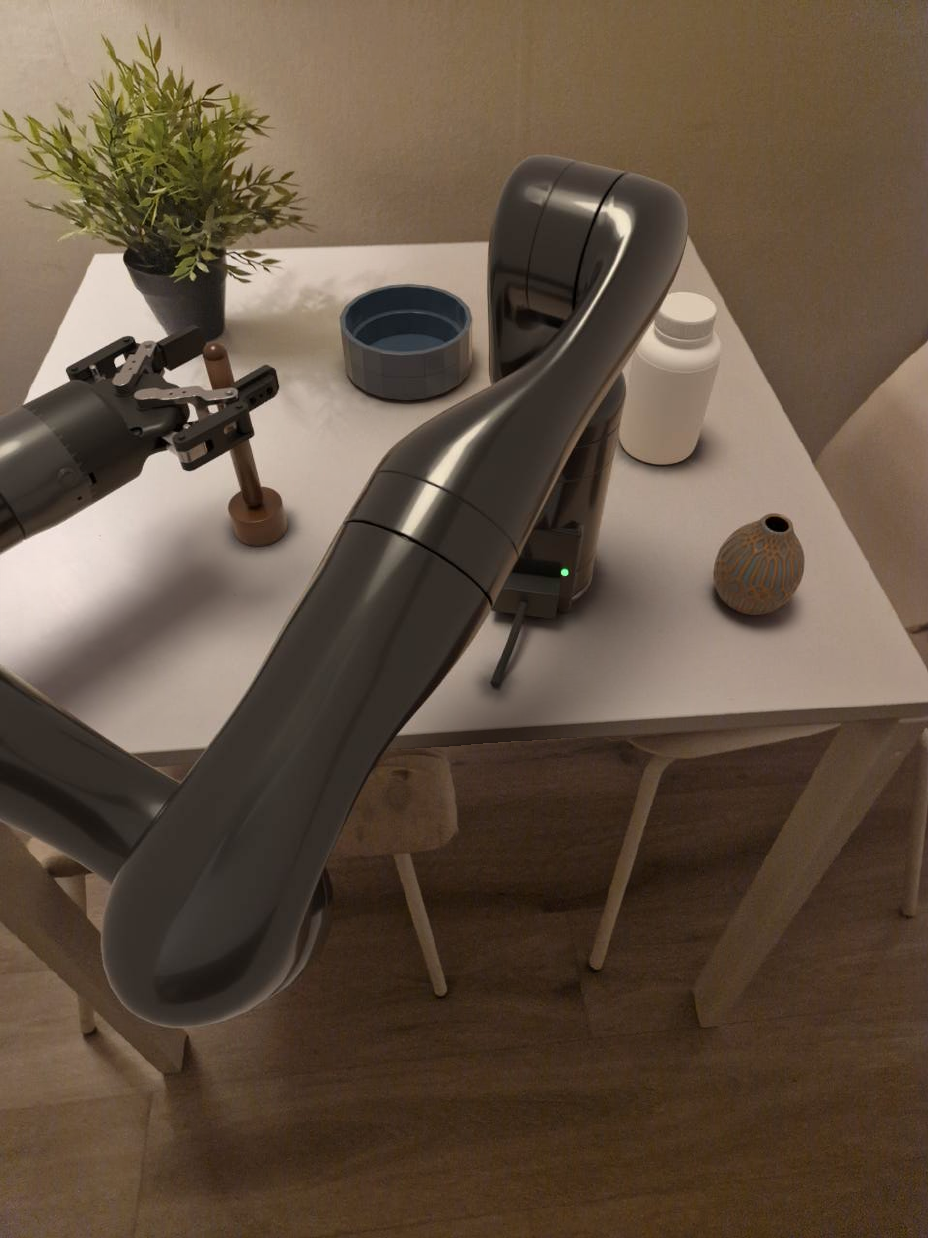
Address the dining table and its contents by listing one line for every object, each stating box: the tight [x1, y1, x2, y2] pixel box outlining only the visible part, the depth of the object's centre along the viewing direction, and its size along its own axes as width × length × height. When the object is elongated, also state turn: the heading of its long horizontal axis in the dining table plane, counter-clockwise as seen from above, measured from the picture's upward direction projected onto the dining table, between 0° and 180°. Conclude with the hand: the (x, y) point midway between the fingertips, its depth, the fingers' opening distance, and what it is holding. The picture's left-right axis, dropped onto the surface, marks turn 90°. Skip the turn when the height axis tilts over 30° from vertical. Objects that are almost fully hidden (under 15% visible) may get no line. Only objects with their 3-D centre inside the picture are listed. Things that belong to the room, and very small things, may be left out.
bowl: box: [339, 283, 473, 401], centre depth 88 cm, size 14×14×6 cm
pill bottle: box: [618, 291, 723, 466], centre depth 76 cm, size 8×8×15 cm
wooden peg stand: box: [202, 341, 288, 547], centre depth 66 cm, size 5×5×19 cm
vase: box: [713, 512, 805, 616], centre depth 65 cm, size 7×7×9 cm
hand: (237, 356), depth 61 cm, fingers open, 8 cm apart
